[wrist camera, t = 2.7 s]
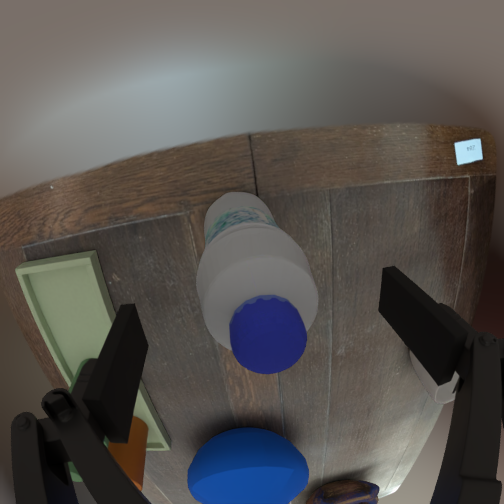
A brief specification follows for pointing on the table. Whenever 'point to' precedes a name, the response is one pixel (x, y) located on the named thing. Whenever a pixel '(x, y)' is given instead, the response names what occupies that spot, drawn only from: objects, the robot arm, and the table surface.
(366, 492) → the bowl
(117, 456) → the amber bottle
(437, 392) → the mug
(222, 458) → the vase
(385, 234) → the table surface
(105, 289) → the tray
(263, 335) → the bottle
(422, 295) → the robot arm
